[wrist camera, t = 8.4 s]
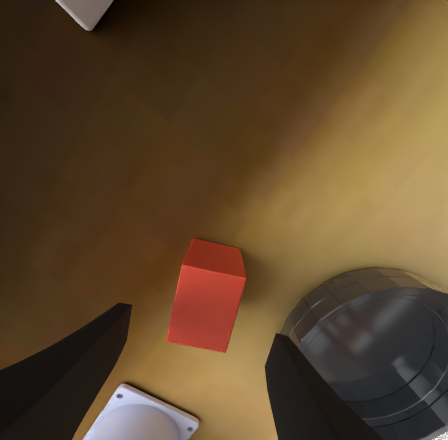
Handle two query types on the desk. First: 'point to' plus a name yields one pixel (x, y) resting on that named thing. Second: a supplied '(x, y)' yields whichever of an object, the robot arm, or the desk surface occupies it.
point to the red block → (207, 296)
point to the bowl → (380, 348)
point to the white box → (86, 11)
